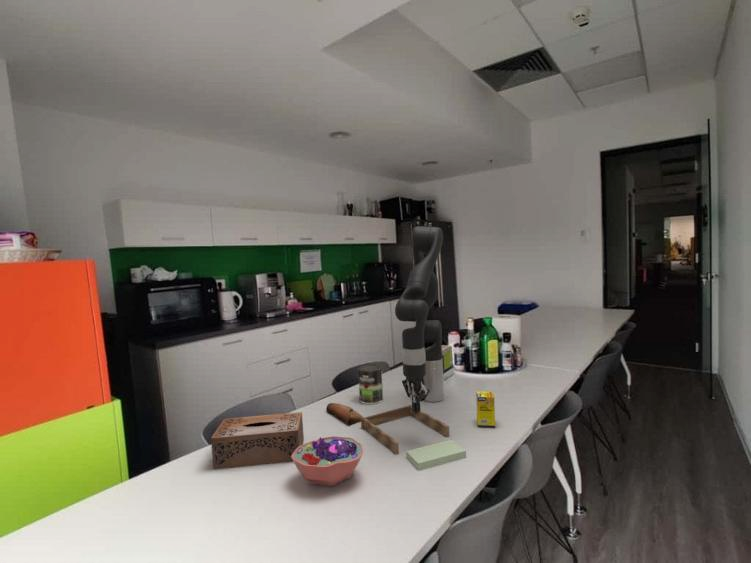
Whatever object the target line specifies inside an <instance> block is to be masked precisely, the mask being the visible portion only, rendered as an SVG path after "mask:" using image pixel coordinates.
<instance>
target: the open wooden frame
mask: <svg viewBox="0 0 751 563" xmlns="http://www.w3.org/2000/svg"><path fill="white" fill-rule="evenodd" d="M409 416H411V417H413V418H415V419H416V420H418V421H419V422H421V423H422V424H424V425H426V426H428V427H429V428H430V429H432V430H434V431H436V432H438V433H439V434H441V435H443V436H444V437H445V438H449V437H450V426H449V425H448V424H445V423H444V422H442V421H441V420H439V419H437V418H435V417H433V416H431V415H430V414H428V413H426V412H425V411H423V410H421V409H420V412H419V413H414V412H413V411H412V404H410V405H406V406H402V407H399V408H398V407H397V408H395V409H391V410H387V411H384V412H380V413H376V414H372V415H368V416H366V417H365V416H364V418H361V422H360V427H361V429H362V430H365V431H366V432H368V433H369V434H370V435H371V436H373V437H374V438H375V439H376V440H377V441H379V442H380V443H381V444H382V445H384V446H385V447H386V448H388V450H390V451H391V452H393V454H395V455H398V454H400V451H399V441H397V440H396V439H395V438H393V437H392V436H390V435H389V434H388V433H386V432H385V431H384V430H382V429H381V428H379V425H380V424H385V423H387V422H391V421H395V420H398V419H402V418H406V417H409Z"/></svg>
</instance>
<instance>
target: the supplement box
mask: <svg viewBox="0 0 751 563" xmlns="http://www.w3.org/2000/svg"><path fill="white" fill-rule="evenodd" d="M475 396H476V397H475V398H476V401H475V402H476V422H477V427H478V428H491V429H492V428H496V416H495V415H496V412H495V411H496V410H495V408H496V407H495V394H494V391H484V390H483V391H482V390H481V391H480V390H479V391H478V390H476V392H475Z"/></svg>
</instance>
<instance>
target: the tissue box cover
mask: <svg viewBox="0 0 751 563" xmlns="http://www.w3.org/2000/svg"><path fill="white" fill-rule="evenodd" d="M304 441H305V436H304V423H303V411H299V412H298V411H297V412H296V411H295V412H285V413H274V414H265V415H264V414H262V415H251V416H241V417H231V418H224V419H222V421H221V423H220V424H219V426H218V427H217V429H216V430H215V431H214V433H213V434H212V436H211V438H210V443H211V444H210V445H211V455H212V467H213V468H212V469H213V470H214V471H215V470H224V469H225V470H226V469H235V468H245V467H253V466H254V467H255V466H262V465H263V466H264V465H266V466H267V465H275V464H283V463H285V464H286V463H294V462H293V459H292V457H291V456H292V453H293V452H294V451H295V450H296V449H297V448H298V447H299V446H301V445H303V444H304Z"/></svg>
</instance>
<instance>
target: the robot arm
mask: <svg viewBox="0 0 751 563" xmlns="http://www.w3.org/2000/svg"><path fill="white" fill-rule="evenodd" d="M443 242H444V234H443V230H442V228H441V227H436V226H423V225H422V226H420V225H419V226H415V227H413V229H412V231H411V250H412V257H413V258H412V259H413V268H412V270H411V271H410V273H409V277H408V280H407V285H406V287H405V289H404V291H403V292H402V294H401V296H400V297H399V298H398V300H397V302H396V305H395V307H394V312H395V313H394V315H395V317H396V318H397V320H399V321H400V322H408V323H409V322H412V323H413V322H414V323H415V326H413V327H409V328H405V329H403V330H402V333H401V339H402V343H401V344H402V352H401V356H402V375H403V377H405V379H402V381H401V382H402V387H403V388H404V391H405V393H406V396H407V398H409V399H410V401H411V405H412V411H413V412H414V413H419V412H420V410H421V402H425V401H426V402H430V403H438V402H441V401H443V400H444V399H445V394H444V389H445V387H444V381H443V362H442V345H443V344H442V343H443V327H442V326H443V325H442V323H441V321H440V320H437V319H434V320H431V319H430V320H427V319H428V315H429V311H430V309H431V308H432V307H433V306H434V304H435V303H436V302H437V300H438V297H439V280H438V277H437V275H436V274H435V272H434V271H433V270H434V269H435V268H434V267H435V265H436V263H437V261H438V259H439V255H440V253H441V249H442V248H443ZM424 252H425V253H427V255H426V256H424ZM425 343H429V344H430V343H433V344H432V345H431V346H429V347H427V348H425Z"/></svg>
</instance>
